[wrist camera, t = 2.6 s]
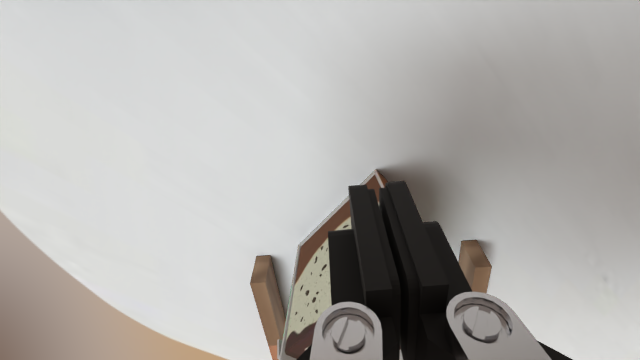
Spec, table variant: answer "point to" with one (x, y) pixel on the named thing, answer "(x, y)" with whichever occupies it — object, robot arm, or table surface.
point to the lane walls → (271, 304)
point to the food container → (315, 278)
